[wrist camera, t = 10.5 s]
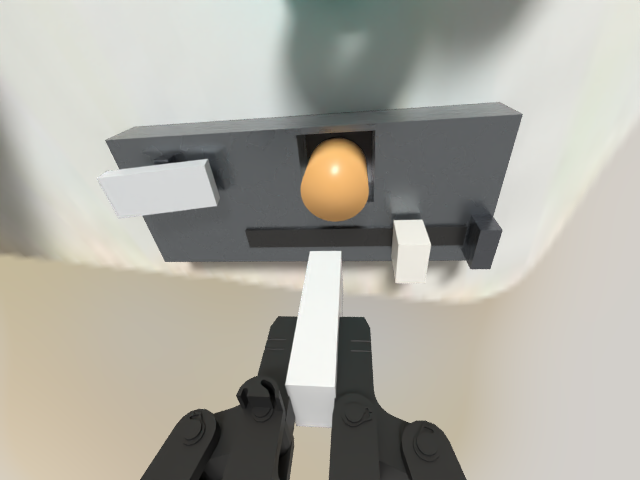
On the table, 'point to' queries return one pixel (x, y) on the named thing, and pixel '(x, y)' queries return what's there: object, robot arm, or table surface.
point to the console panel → (289, 168)
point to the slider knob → (410, 251)
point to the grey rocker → (160, 188)
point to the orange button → (335, 180)
